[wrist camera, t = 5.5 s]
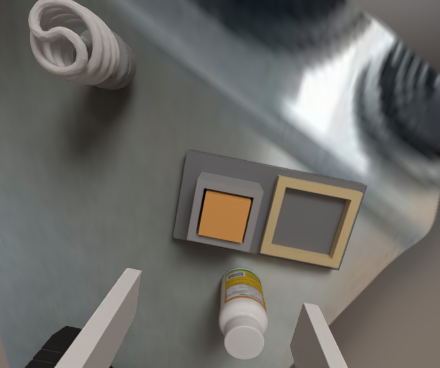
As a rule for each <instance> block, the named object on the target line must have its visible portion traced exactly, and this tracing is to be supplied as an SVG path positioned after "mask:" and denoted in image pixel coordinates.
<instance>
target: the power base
mask: <svg viewBox="0 0 440 368" xmlns="http://www.w3.org/2000/svg"><path fill="white" fill-rule="evenodd" d="M366 188H367V186H366V185H364V184H362V183H358V182H353V181H348V180H343V179H338V178H333V177H328V176H322V175H317V174H312V173H307V172H302V171H297V170H292V169H287V168H282V167H277V166H272V165H267V164H262V163H257V162H252V161H247V160H241V159H236V158H231V157H226V156H221V155H216V154H211V153H206V152H201V151H196V150H191V149H189V150H187V154H186V160H185V166H184V173H183V179H182V185H181V191H180V197H179V203H178V210H177V216H176V222H175V228H174V234H173V238H177V239H182V240H187V241H192V242H197V243H202V244H207V245H212V246H217V247H223V248H228V249H233V250H238V251H243V252H248V253H253V254H258V255H263V256H268V257H273V258H278V259H283V260H289V261H294V262H299V263H304V264H309V265H314V266H319V267H324V268H329V269H334V270H339V269H340V266H341V263H342V260H343V257H344V254H345V251H346V248H347V245H348V242H349V239H350V236H351V233H352V230H353V227H354V224H355V221H356V218H357V215H358V212H359V209H360V206H361V203H362V200H363V197H364V194H365V191H366ZM207 189H212V190H217V191H222V192H227V193H233V194H238V195H243V196H248V197H250V199H251V204H250V208H249V213H248V217H247V221H246V226H245V230H244V234H243V239H242V243H239V242H234V241H229V240H224V239H218V238H213V237H208V236H203V235H198V233H199V228H200V222H201V217H202V212H203V206H204V201H205V195H206V191H207Z"/></svg>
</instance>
